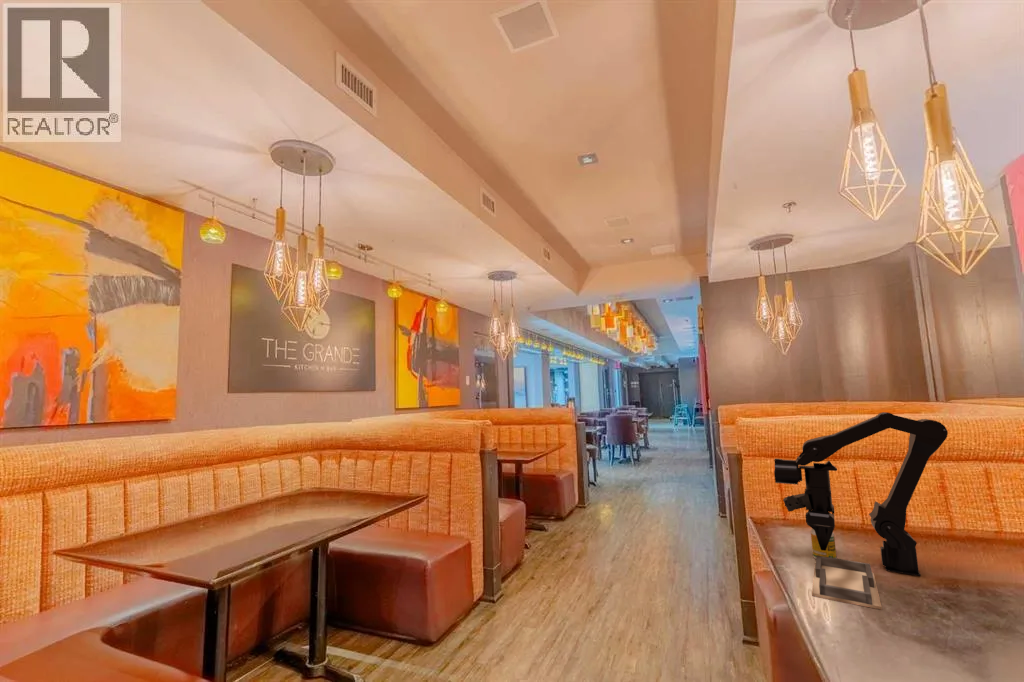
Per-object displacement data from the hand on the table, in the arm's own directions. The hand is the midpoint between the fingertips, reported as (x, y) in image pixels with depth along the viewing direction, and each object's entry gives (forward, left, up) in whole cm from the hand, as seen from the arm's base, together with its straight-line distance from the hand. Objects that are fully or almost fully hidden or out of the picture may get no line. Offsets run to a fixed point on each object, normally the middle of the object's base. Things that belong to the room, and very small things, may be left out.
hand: (823, 545), depth 123 cm
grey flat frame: (-4, +18, -4) cm, 19 cm away
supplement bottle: (0, 0, -4) cm, 4 cm away
